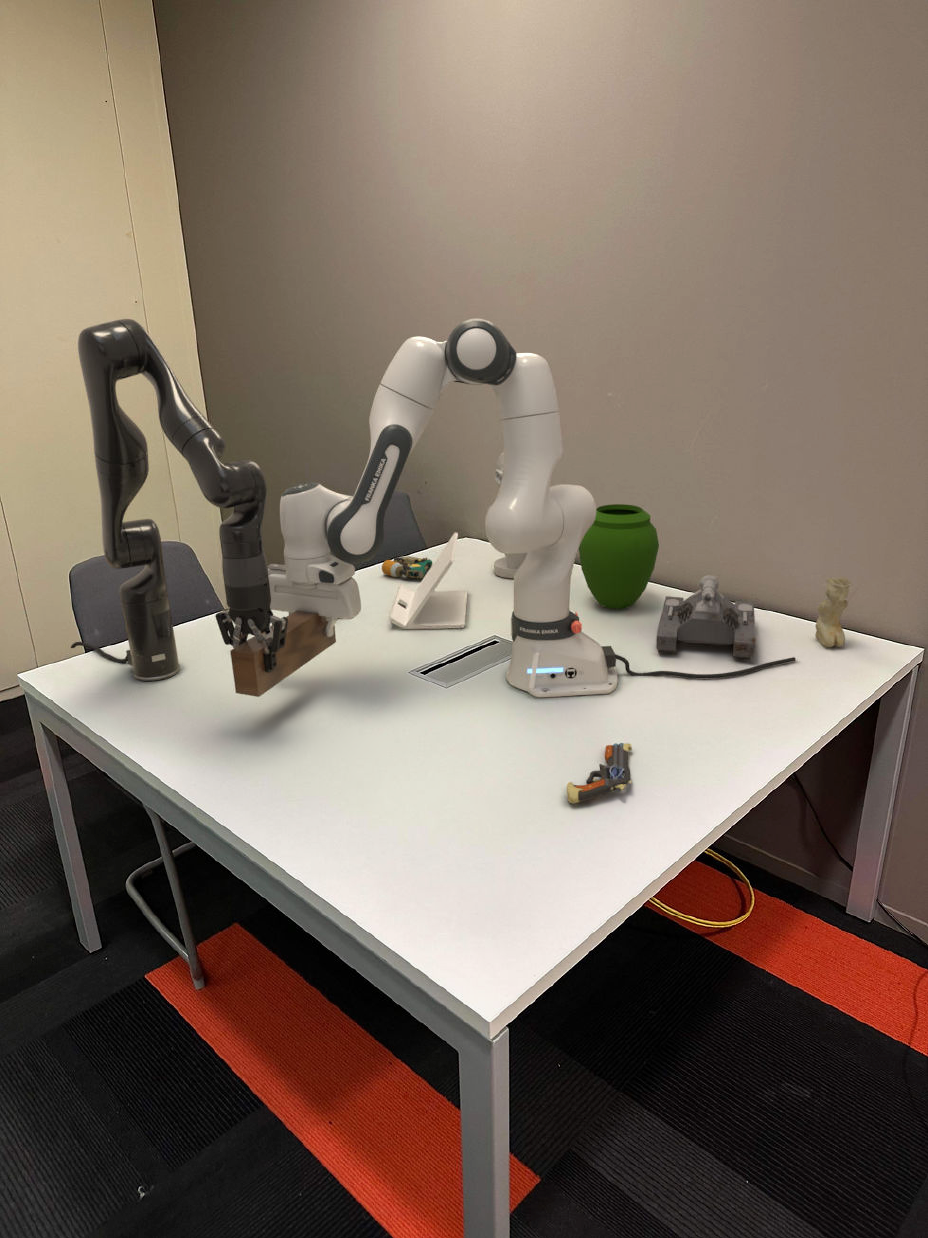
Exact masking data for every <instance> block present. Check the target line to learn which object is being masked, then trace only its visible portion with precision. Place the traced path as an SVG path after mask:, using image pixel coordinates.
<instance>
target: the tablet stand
mask: <svg viewBox="0 0 928 1238" xmlns="http://www.w3.org/2000/svg"><path fill="white" fill-rule="evenodd" d="M458 537H459V533H458V532H456V531H455V532H453V534H452V535H451V537H450V539H449V540H448V542H447V543H446V544H445V546H444V548H443V549H442V551H441V552H440V554H439V555H438V556H437V558H436V559H435V561H434V562H433V563H432V566H431V567H430V568H429V569H428V571H427V572H426V573H425V575H424V576H423V579H422V580H421V581H420V583H419V584H418V585H417V587H416V589H415V590H412V589H410V588H409V587H407V586H406V585H403V584H400V585H399V586H398V589H397V591H396V595H395V598H394V601H393V604H392V607H391V610H390V612H389V613H390V614H389V617H388V621H389V622H391V623H392V624H394V625H396V626H398V627H399V628H401V629H402V630H426V629H427V630H429V629H430V630H431V629H435V630H436V629H437V630H438V629H464V628H465V627H466V618H467V617H466V616H467V605H468V591H467V590H436V589H437V587H438V585H440V582H441V581H442V580H443V578H444V577H445V575H446V574H447V573H448V571H449V570H450V569H451V567H452V566H453V564H454V562H455V558H456V553H457V545H458ZM399 603H400V604H399ZM402 605H403V606H405V607H403V606H402Z"/></svg>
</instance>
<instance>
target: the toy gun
mask: <svg viewBox="0 0 928 1238" xmlns="http://www.w3.org/2000/svg"><path fill="white" fill-rule="evenodd" d="M632 748H633V746H632V744H631V743H629V742H628V743H624V742H619V743H617V742H616V743H614V744H607V745H606V746H605V750H604V760H605V761H606V762H607V764H606V765H605V764H601V763H599V770H592V771H590V772H589V776H588V778H587V779H586V780H585V783H586V784H579V785H578V784H573V782H572V781H569V782H568V783H567V784H566V797H567V800H568V802H569V804H579V803H580V802H584V801H588V800H591V799H594V798H597V797H599V796H602V795H607V794H608V793H612V792H614V791H616V790H618V789H619V790H620V791H624V789H625V788H626V787H627V785H628V784H631V783H632V781H631V779H632V778H631V777H632V775H631V769H630V767H629V752H631V751H633V749H632ZM595 778H599V779H595Z"/></svg>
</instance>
